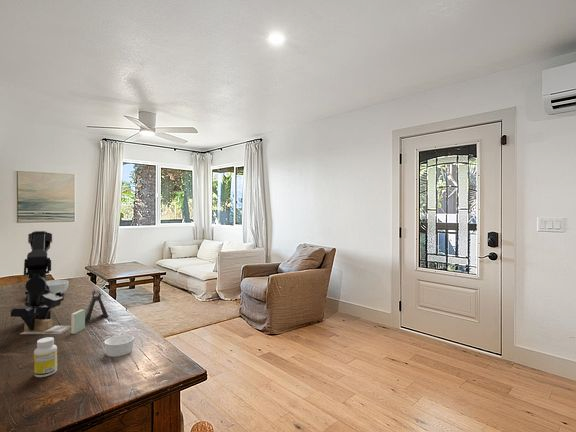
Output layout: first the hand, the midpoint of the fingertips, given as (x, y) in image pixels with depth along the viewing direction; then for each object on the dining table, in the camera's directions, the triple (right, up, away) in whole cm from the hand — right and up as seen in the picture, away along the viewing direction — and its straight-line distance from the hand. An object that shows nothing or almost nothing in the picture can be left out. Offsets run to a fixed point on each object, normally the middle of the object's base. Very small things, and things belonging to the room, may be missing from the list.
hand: (37, 327), depth 126 cm
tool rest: (+4, -2, 0) cm, 4 cm away
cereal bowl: (-35, -1, +55) cm, 65 cm away
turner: (+4, -1, 0) cm, 4 cm away
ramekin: (+41, -3, -17) cm, 44 cm away
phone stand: (+13, -2, +17) cm, 21 cm away
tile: (+16, -2, 0) cm, 16 cm away
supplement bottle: (+27, -3, -32) cm, 42 cm away
